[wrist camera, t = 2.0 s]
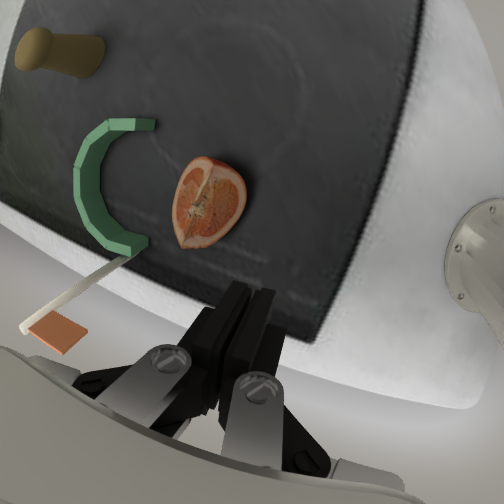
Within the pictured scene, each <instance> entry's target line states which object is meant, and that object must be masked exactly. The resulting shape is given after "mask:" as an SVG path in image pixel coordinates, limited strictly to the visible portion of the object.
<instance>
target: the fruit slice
mask: <svg viewBox="0 0 504 504" xmlns="http://www.w3.org/2000/svg"><path fill="white" fill-rule="evenodd" d="M246 200H247V191H246V186H245V182H244V181H243V179H242V177H241V176H240V174H239V173H238V172H236V171H235V170H234V169H233V168H232V167H230V166H229V165H227V164H225V163H224V162H221V161H218V160H216V159H213V158H210V157H204V156H201V157H197V158H195V159H193V160H192V161H191V162H190V163H189V164H188V165H187V167H186V168H185V170H184V171H183V173H182V175H181V177H180V180H179V183H178V186H177V189H176V192H175V197H174V201H173V207H172V220H173V226H174V231H175V234H176V237H177V239H178V241H179V244H180V245H181V248H183V249H185V248H199V247H201V248H205V247H208V246H209V245H211V244H213V243H215V242H216V241H217V240H218V239H220V238H221V237H222V236H224V235H225V234H226V233H227V232H228V231H229V230H230V229H231V228H232V227H233V225H234V224H235V223H236V222H237V220H238V219H239V217H240V216H241V214H242V212H243V210H244V207H245V205H246Z"/></svg>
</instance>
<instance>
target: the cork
mask: <svg viewBox="0 0 504 504" xmlns="http://www.w3.org/2000/svg"><path fill="white" fill-rule="evenodd" d="M104 54H105V43H104V40H103V39H102V38H101V37H99V36H91V35H76V34H52V33H51V31H50V30H48V29H47V28H42V27H37V28H33V29H31V30H29V31H28V32H27V33H26V34H25V35H24V36H23V37H22V39H21V40H20V42H19V44H18V46H17V49H16V53H15V65H16V67H17V68H18V69H20V70H22V71H32V70H36V69H38V68H39V67H41V68H45V69H49V70H53V71H57V72H61V73H65V74H68V75H72V76H75V77H79V78H87V77H89V76H91V75H92V74H93V73H94V72H95V71H96V70H97V69H98V67H99V66H100V64H101V62H102V60H103V58H104Z"/></svg>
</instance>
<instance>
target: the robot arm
mask: <svg viewBox="0 0 504 504" xmlns="http://www.w3.org/2000/svg"><path fill="white" fill-rule="evenodd" d="M456 245H457V246H456ZM455 246H456V247H455ZM445 279H446V283H447V286H448V289H449V291H450V293H451V295H452V297H453V298H454V300H455V301H456V302H457V303H458V304H459V305H460V306H461V307H462V308H464V309H466V310H468V311H470V312H475V313H481V314H482V315H483V316H484V318H485V319H486V321H487V323H488V324H489V326H490V327H491V329H492V330H493V332H494V333H495V335H496V337H497V338H498V340H499V342H500V343H501V345H502V347H503V348H504V199H489V200H487V201H484V202H481V203H480V204H478V205H477V206H475V207H473V208H472V209H471V210H470V211H469V212H468V213H467V214H466V215H465V216H464V217H463V219H462V220H461V221H460V223H459V224H458V225H457V227H456V229H455V231H454V233H453V235H452V237H451V240H450V242H449V245H448V248H447V253H446V257H445ZM251 295H252V289H251V288H248V284H247V283H243V282H239V281H235V280H234V281H233V282H232V284H231V285H230V287H229V288H228V290H227V291H226V293H225V294H224V296H223V297H222V299H221V300H220V302H219V303H218V305H217V306H216V308H215V309H213V308H210V307H204V308H203V309H202V311H201V312H200V314H199V315H198V316H197V318H196V319H195V321H194V322H193V323H192V325H191V326H190V328H189V329H188V330H187V332H186V333H185V335H184V336H183V337H182V339H181V340H180V342H179V343H178V345H177V346H176V345H170V344H165V345H159V346H156V347H154V348H153V349H151V350H149V351H148V352H147V353H146V354H145V355H144V356H143V357H142V358H140V359H139V360H138V361H137V362H136V363H135V364H133V365H128V366H122V367H116V368H110V369H104V370H97V371H91V372H87V373H84V374H81V372H80V370H77V369H74V368H71V367H69V366H66V365H63V364H60V363H57V362H54V361H52V360H49V359H46V358H44V357H41V356H31V357H29V358H28V357H26V356H24V355H23V354H21V353H19V352H17V351H15V350H12V349H10V348H7V347H4V346H0V504H426V503H425V502H423V501H422V500H420V499H418V498H416V497H415V496H413V495H410V494H408V493H405V492H404V483H403V481H402V479H401V478H400V477H399V476H398V475H396V474H394V473H391V472H387V471H383V470H379V469H375V468H372V467H368V466H364V465H361V464H357V463H354V462H351V461H347V460H344V459H341V458H340V459H339V460H335V459H332V458H330V457H329V456H328V455H327V453H326V452H325V450H324V449H323V448H322V447H321V446H320V445H319V444H318V443H317V442H316V441H315V440H314V438H313V437H312V436H311V435H310V434H309V433H308V432H307V431H306V429H305V428H304V427H303V426H302V425H301V424H300V423H299V422H298V421H297V419H296V418H295V417H294V416H293V415H292V413H291V412H290V411H289V410H288V409H287V408H286V406H285V405H284V390H283V386H282V384H281V383H280V381H279V380H277V379H276V378H275V374H276V370H277V367H278V363H279V359H280V355H281V351H282V347H283V343H284V339H285V335H286V330H287V328H285V327H281V326H277V325H273V324H269V322H270V318H271V313H272V309H273V304H274V300H275V295H276V291H275V290H271V289H267V288H262V289H261V291H259V290H256V291H255V293H254V295H253V297H252V299H251ZM250 300H251V301H250ZM218 401H219V407H218V411H219V419H218V422H219V423H220V425H221V427H222V428H223V430H224V431H225V435H224V441H223V445H222V450H221V456H220V455H217V454H214V453H211V452H208V451H205V450H202V449H199V448H196V447H193V446H191V445H188V444H185V443H183V442H180V441H178V440H177V439H178V438H179V437H180V435H181V434H182V433H183V431H184V430H185V429H186V428H187V426H188V425H189V424H190V422H191V418H193V417H197V416H200V415H201V414H203V415H205V416H206V414H207V412H208V410H209V408H210V409H213V410H214V409H215V407H216V405H217V402H218Z"/></svg>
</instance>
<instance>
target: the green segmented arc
mask: <svg viewBox="0 0 504 504" xmlns="http://www.w3.org/2000/svg"><path fill="white" fill-rule="evenodd" d="M154 128H155V119H136V118H130V119H109V120H106V121H105V122H103V123H102V124H101V125H99V126H98V127H97V128H96V129H95V130H93V131H92V132H91V133H90V134H88V135H87V136H86V138H85V139H84V141H83V144H82V146H81V149H80V151H79V153H78V156H77V158H76V161H75V164H74V166H75V167H74V197H75V199H74V200H75V202H76V205H77V208H78V210H79V213H80V215H81V218H82V220H83V223H84V225H85V227H86V226H87V228H86V229H87V230H88V231H89V232H90V233H91V234H92V235H93V236H94V237H95V238H96V239H97V240H98V242H99V243H100V244H101V245H102V246H103V247H104V248H105V249H106V248H107V250H110V251H113V252H116V253H119V254H122V255H120V256H119V257H117V258H115V259H114V260H112V261H111V262H109V263H108V264H106V265H104V266H103V267H101V268H100V269H98V270H97V271H95V272H94V273H92V274H91V275H89V276H88V277H86V278H85V279H83V280H82V281H80V282H79V283H77V284H76V285H74V286H73V287H71V288H70V289H68V290H67V291H65V292H64V293H62V294H61V295H60V296H58V297H57V298H56V299H54V300H52V301H51V302H50V303H48V304H47V305H45V306H44V307H43V308H41V309H40V310H39V311H37V312H36V313H34V314H33V315H32V316H30V317H29V318H28V319H26V320H25V321H24V322H22V323H21V324H20V325H19V328H20V330H21V332H22V333H23V334H24V335H27V334H28V333H29V332H30V333H32V334H33V335H34V336H36V337H37V338H38V339H40V340H41V341H42V342H44V343H45V344H47V345H48V346H50V347H51V348H52V349H54V350H55V351H57V352H58V353H60V354H61V355H64V354H65V353H66V352H67V351H68V350H69V349H70V348H71V347H72V346H74V345H75V344H76V343H77V342H78V341H79V340H80V339H81V338H82V337H83V336H85V335H86V334H87V333H88V330H87V329H85V328H83V327H82V326H79V325H78V324H76V323H74V322H73V321H71V320H69V319H67V318H65V317H63V316H62V315H60V314H59V313H57V312H56V311H58V310H59V309H60V308H62V307H63V306H64V305H66V304H67V303H68V302H70V301H71V300H72V299H74V298H75V297H77V296H78V295H80V294H81V293H82V292H84V291H85V290H86V289H88V288H89V287H91V286H92V285H94V284H95V283H96V282H98V281H99V280H101V279H102V278H103V277H105V276H106V275H108V274H109V273H111V272H112V271H114V270H115V269H117V268H118V267H120V266H121V265H122V264H124V263H125V262H127V261H128V260H130V259H131V258H133V257H134V256H136V255H137V254H139V253H140V251H141V250H143V249H144V248H146V247H148V236H145V235H141V234H137V233H133V232H129V231H126V230H125V229H124V228H123V227H122V226H121V225H120V224H119V223H118V222H116V221H115V220H114V219H113V218H112V217H111V216H110V215H109V213H108V211H107V208H106V206H105V203H104V200H103V198H102V195H101V193H100V164H101V162H102V160H103V158H104V155H105V153H106V151H107V149H108V147H109V145H110V143H111V142H112V141H114V140H115V139H117V138H118V137H119V136H121V135H122V134H124V133H125V132H127V131H142V130H154Z"/></svg>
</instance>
